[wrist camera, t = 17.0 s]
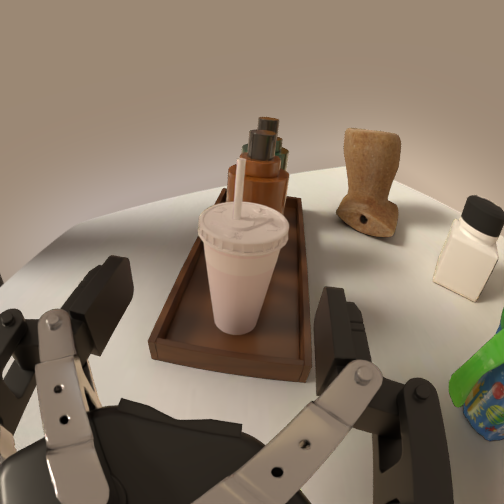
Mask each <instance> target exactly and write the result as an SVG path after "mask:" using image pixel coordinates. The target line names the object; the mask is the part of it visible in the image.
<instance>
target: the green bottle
mask: <svg viewBox="0 0 504 504" xmlns="http://www.w3.org/2000/svg"><path fill="white" fill-rule="evenodd" d="M278 127H279V120H278V119H275V118H269V117H259V119H258V128H257V130H267V131H272V132H275V133H276V134H277V136H278ZM246 152H248V144H246V145H243V146H242V153H246ZM275 155H276V156H278V157H279V158H280V159H281V165H280V168H281V169H283V170H285V171H286V169H287V162H288V155H289V151H288V150H287V149H285V148H283V147H282V138H280V137H277V138H276V146H275Z"/></svg>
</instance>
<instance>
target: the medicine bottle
mask: <svg viewBox="0 0 504 504" xmlns="http://www.w3.org/2000/svg"><path fill="white" fill-rule="evenodd" d="M503 225H504V211H503V210H502V209H501V208H500V207H499V206H498V205H497V204H495V203H494V202H492V201H490V200H488V199H486V198H484V197H481V196H477V195H474V196H473V195H472V196H469V197H468V198H467V201H466V204H465V206H464V209H463V212H462V215H461V218H460V220H458V219H454V220H453V223H452V226H451V228H450V231H449V234H448V236H447V239H446V241H445V244H444V246H443V249H442V251H441V253H440V256H439V258H438V262H437V265H436V269H435V273H434V277H433V282H435V283H437V284H439V285H441V286H443V287H445V288H447V289H449V290H451V291H453V292H455V293H457V294H459V295H461V296H463V297H465V298H467V299H469V300H471V301H473V302H476V301H477V299H478V297H479V296H480V294H481V292H482V290H483V288H484V287H485V285H486V283H487V281H488V279H489V277H490V275H491V273H492V271H493V269H494V267H495V265H496V263H497V261H498V258H499V257H498V251H497V246H496V242H497V240H498V237H499V235H500V233H501V230H502V228H503Z"/></svg>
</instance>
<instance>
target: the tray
mask: <svg viewBox="0 0 504 504" xmlns="http://www.w3.org/2000/svg"><path fill="white" fill-rule="evenodd" d="M226 199H227V189H226V188H223V189H222V191H221V193H220V195H219V197H218V199H217V201H216V202H215V204H214V205H216V204H220V203H225V202H226ZM283 216H284V217H285V218H286V219H287V221H288V223H289V231H288V241H287V243H286V245H285V246H283V247H282V248H281V249H280V252H279V255H278V259H277V262H276V265H275V268H274V271H273V274H272V277H271V280H270V283H269V286H268V289H267V293H266V296H265V299H264V302H263V305H262V308H261V311H260V314H259V317H258V320H257V323H256V326H255V327H254V329H253V330H251V331H250V332H248V333H246V334H242V335H232V334H228V333H225V332H223V331H221V330H220V329H219V328H218V327H217V326H216V324H215V321H214V314H213V308H212V301H211V294H210V287H209V280H208V273H207V266H206V258H205V251H204V242H203V241H202V240H201V238H200V237H199V235H198V237H197V239H196V241H195V243H194V245H193V247H192V249H191V251H190V253H189V255H188V257H187V259H186V261H185V263H184V265H183V267H182V269H181V271H180V273H179V275H178V277H177V279H176V282H175V284H174V286H173V288H172V290H171V292H170V294H169V296H168V298H167V300H166V303H165V305H164V307H163V309H162V311H161V313H160V315H159V318H158V320H157V322H156V324H155V326H154V328H153V331H152V333H151V335H150V337H149V340H148V345H149V349H150V353H151V358H152V359H155V360H160V361H165V362H169V363H174V364H179V365H184V366H189V367H194V368H200V369H205V370H211V371H217V372H223V373H229V374H236V375H243V376H250V377H257V378H265V379H274V380H283V381H293V382H304V383H305V382H306V380H307V378H308V375H309V373H310V370H311V368H312V349H311V325H310V306H309V289H308V274H307V260H306V247H305V235H304V223H303V212H302V202H301V198H296V197H289V196H286V202H285V209H284V215H283Z"/></svg>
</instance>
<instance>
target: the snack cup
mask: <svg viewBox="0 0 504 504" xmlns="http://www.w3.org/2000/svg"><path fill="white" fill-rule="evenodd" d="M449 394H450V397H451V399H452V402H453V404H454V406H456V407H458V408H459V407H461V406H462V405H463V404H464V411H463V413H464V415H465V417H466V418H467V419H468V420H469V422H470V424H471V426H472V427H473V428H474V429H475V430H476V431H477V432H478V433H479V434H481V435H482V436H484V438H485V439H486V440H489V441H492V440H502V439H504V309H503V311H502V315H501V320H500V325H499V328H498V329H497V332H496V334H495V335H494V336H493V338H492V339H491V340H489V341H488V342H487V343H486V344H485V345H484V346H483V347H481V348H480V349H479V350H478V351H477V352H476V353H475V354H474V355H473V356H472V357H471V358H470V359H469V360H468V361H467V362H466V363H465V364H463V365H462V366H461V367H460V368H459V369H458V370H457V371H456V372H455V373H453V374H452V376H451V379H450V381H449Z"/></svg>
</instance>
